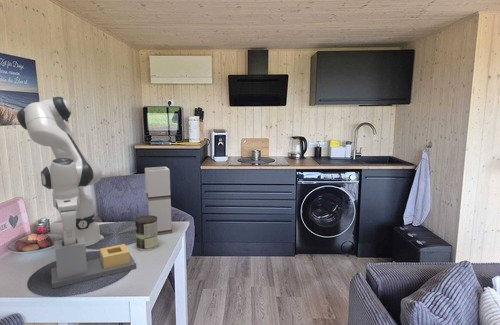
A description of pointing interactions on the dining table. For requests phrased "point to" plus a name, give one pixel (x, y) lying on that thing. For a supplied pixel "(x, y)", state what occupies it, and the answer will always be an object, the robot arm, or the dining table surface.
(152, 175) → the striped beige pillar
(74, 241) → the plug
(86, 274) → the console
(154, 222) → the coffee can
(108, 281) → the dining table surface
